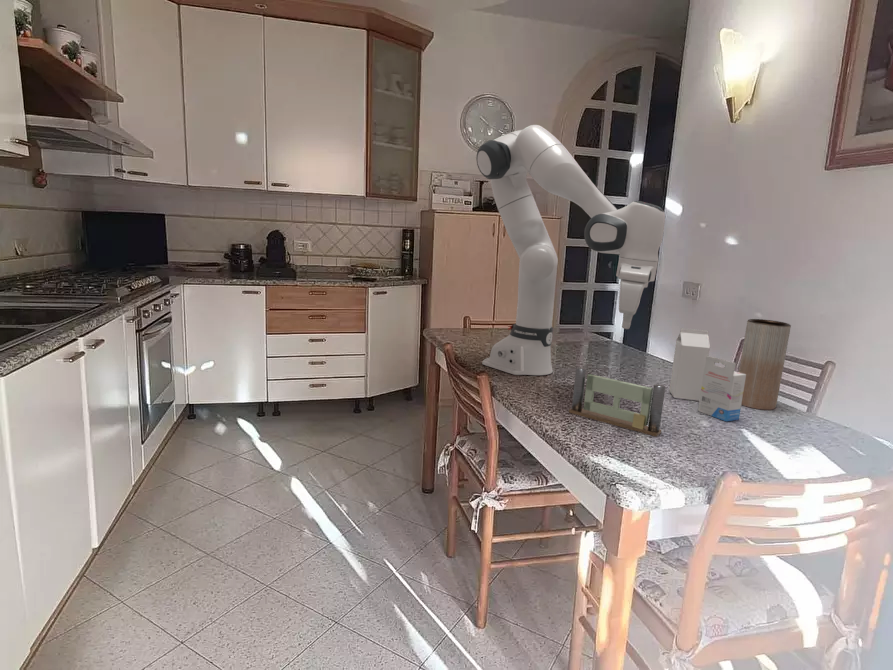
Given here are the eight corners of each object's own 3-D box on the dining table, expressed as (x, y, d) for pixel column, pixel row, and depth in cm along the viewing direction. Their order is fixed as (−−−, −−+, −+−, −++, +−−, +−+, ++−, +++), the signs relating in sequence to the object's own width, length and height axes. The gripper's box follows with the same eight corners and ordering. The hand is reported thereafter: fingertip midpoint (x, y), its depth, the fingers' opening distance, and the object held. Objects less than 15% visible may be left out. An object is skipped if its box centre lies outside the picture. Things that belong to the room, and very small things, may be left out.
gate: (583, 409, 130) (587, 375, 128) (586, 407, 131) (589, 374, 129) (645, 426, 121) (650, 389, 119) (648, 424, 122) (653, 388, 120)
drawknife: (568, 412, 131) (573, 368, 129) (574, 409, 134) (579, 366, 132) (656, 436, 119) (663, 388, 117) (661, 433, 121) (667, 385, 119)
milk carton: (701, 401, 147) (712, 333, 143) (674, 398, 148) (683, 330, 145) (695, 394, 154) (705, 328, 150) (668, 391, 155) (678, 326, 152)
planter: (784, 410, 143) (800, 326, 139) (748, 409, 142) (763, 324, 138) (760, 399, 153) (774, 319, 149) (726, 397, 152) (739, 318, 148)
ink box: (739, 420, 133) (749, 362, 131) (726, 422, 131) (736, 363, 128) (710, 409, 141) (718, 354, 138) (696, 411, 139) (705, 355, 136)
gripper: (625, 267, 140) (616, 320, 143) (619, 271, 121) (608, 331, 124) (651, 271, 138) (641, 324, 141) (648, 275, 119) (637, 336, 122)
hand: (625, 327), depth 132 cm, fingers closed
